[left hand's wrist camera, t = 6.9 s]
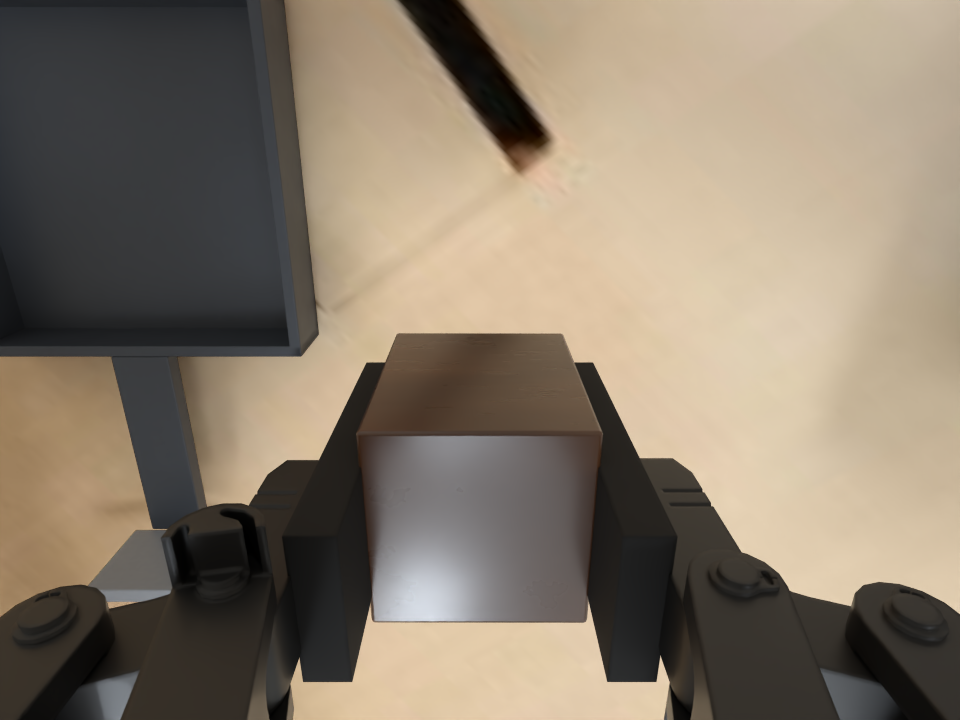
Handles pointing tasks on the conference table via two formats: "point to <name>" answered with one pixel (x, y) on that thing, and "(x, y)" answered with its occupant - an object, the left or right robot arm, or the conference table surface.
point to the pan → (151, 215)
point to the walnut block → (479, 480)
